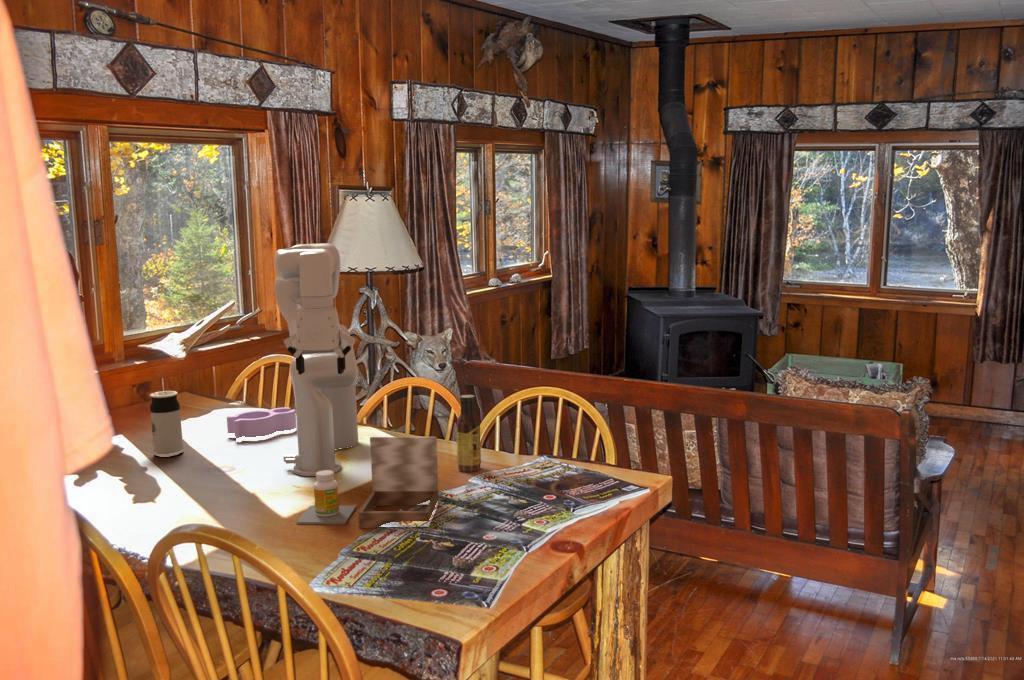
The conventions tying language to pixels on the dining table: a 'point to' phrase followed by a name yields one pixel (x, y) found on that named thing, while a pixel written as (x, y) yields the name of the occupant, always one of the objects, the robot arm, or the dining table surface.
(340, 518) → the slate mat
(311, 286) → the robot arm
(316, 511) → the supplement bottle
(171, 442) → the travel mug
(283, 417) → the lilac molded tray
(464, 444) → the sauce bottle
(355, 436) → the cylinder vase
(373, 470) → the open wooden keepsake box
